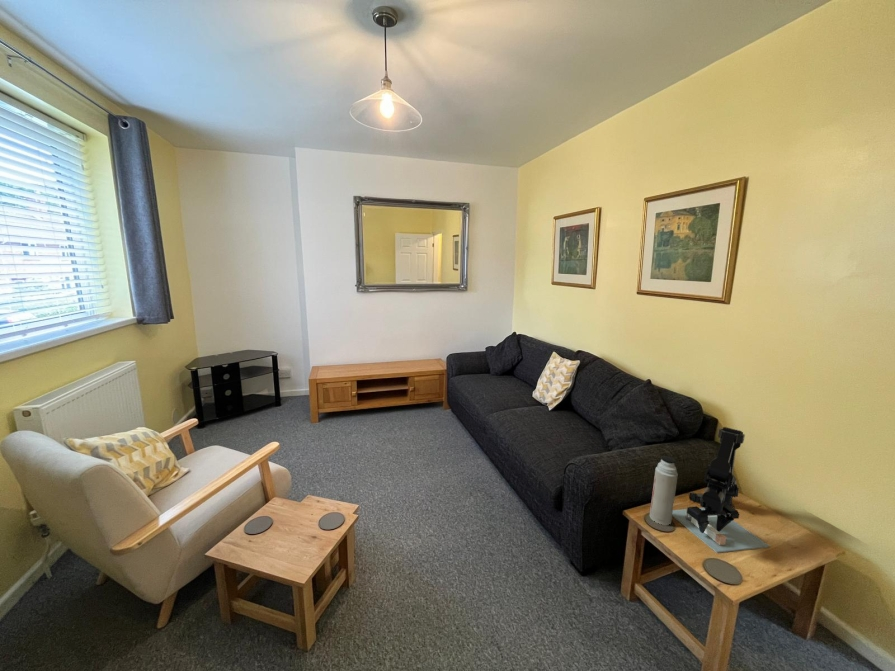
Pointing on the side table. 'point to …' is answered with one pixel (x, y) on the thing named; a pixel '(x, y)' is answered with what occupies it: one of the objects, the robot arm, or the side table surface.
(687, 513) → the posts
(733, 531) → the board
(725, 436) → the robot arm
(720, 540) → the white rectangular bar
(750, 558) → the side table surface
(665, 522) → the thermos bottle
